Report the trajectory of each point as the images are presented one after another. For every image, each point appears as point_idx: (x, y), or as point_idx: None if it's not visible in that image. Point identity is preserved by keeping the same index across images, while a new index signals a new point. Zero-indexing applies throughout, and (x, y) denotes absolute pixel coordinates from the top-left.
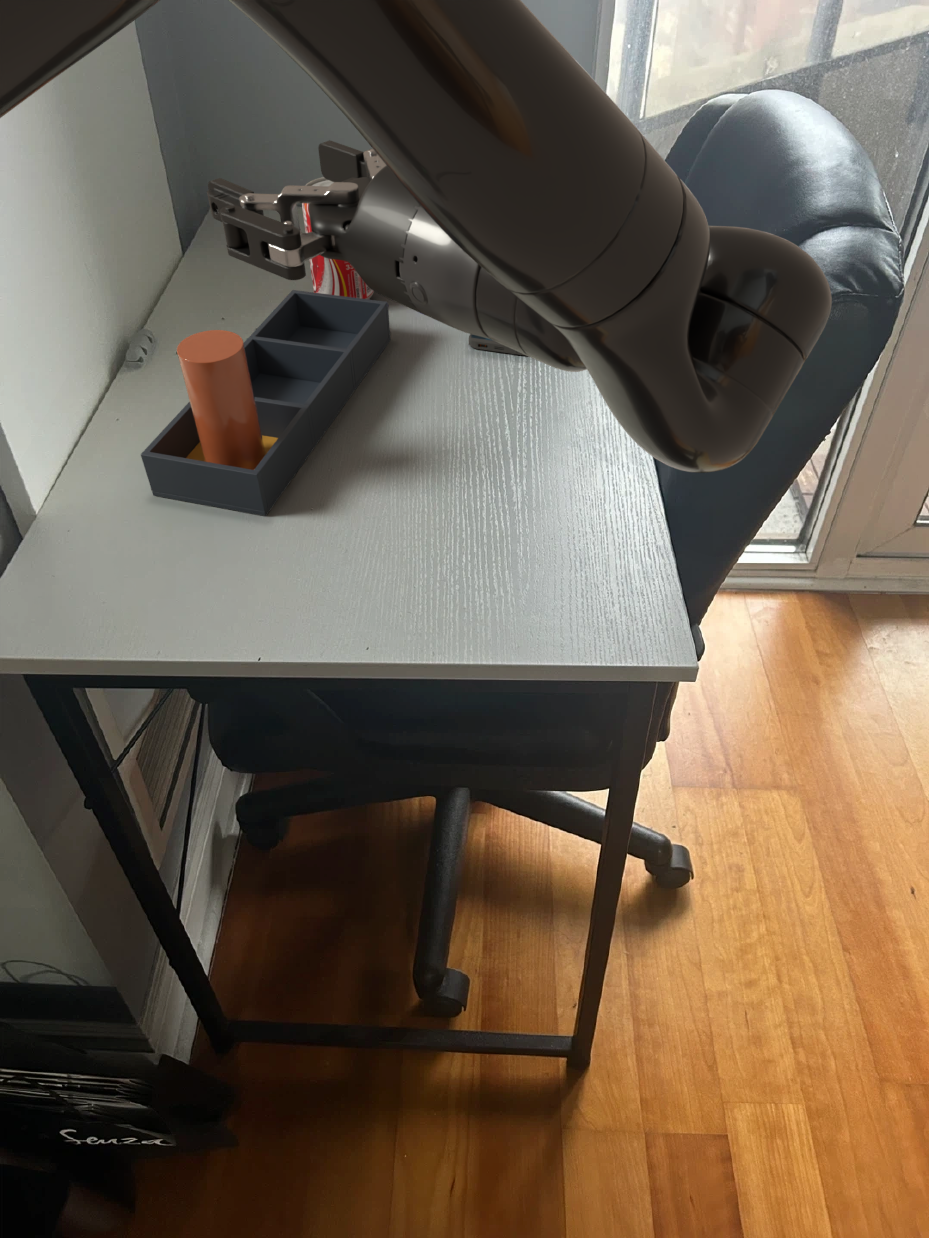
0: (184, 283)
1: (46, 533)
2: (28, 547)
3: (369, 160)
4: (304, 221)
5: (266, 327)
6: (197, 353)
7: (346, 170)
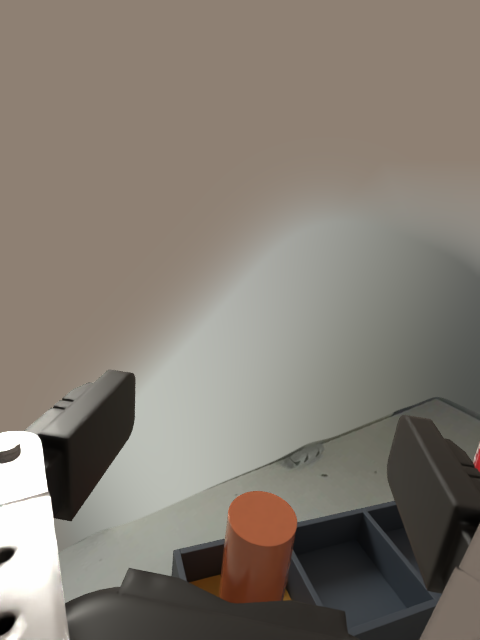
0: (375, 432)
1: (92, 547)
2: (71, 548)
3: (455, 610)
4: (477, 448)
5: (384, 509)
6: (244, 515)
7: (422, 510)
